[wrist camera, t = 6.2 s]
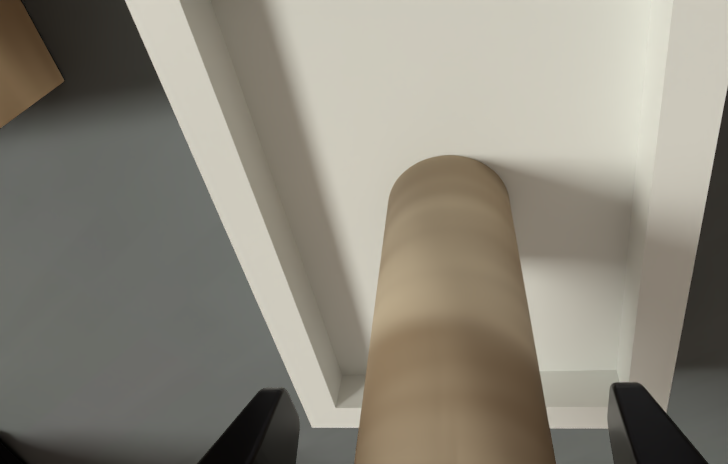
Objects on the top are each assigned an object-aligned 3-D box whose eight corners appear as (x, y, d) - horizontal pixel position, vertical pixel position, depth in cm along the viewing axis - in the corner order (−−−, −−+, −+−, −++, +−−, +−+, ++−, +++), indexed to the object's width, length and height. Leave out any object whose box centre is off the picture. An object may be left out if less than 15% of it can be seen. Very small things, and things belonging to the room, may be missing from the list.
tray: (641, 358, 17) (663, 428, 15) (326, 366, 19) (312, 427, 18) (717, -222, 9) (786, -225, 7) (157, -89, 11) (96, -65, 9)
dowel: (512, 249, 14) (612, 864, 6) (398, 258, 14) (347, 829, 6) (506, 147, 12) (634, 806, 4) (378, 163, 13) (273, 771, 5)
